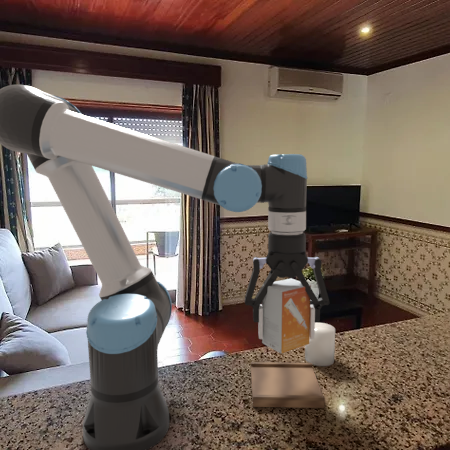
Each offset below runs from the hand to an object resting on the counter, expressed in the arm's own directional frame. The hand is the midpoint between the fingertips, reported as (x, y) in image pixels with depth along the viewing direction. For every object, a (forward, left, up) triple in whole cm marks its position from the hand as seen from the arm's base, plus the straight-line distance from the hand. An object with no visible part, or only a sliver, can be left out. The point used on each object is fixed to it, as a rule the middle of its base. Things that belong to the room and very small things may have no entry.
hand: (285, 336), depth 82 cm
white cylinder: (+10, +14, -12) cm, 21 cm away
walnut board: (0, 0, -12) cm, 12 cm away
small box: (0, 0, -2) cm, 2 cm away
